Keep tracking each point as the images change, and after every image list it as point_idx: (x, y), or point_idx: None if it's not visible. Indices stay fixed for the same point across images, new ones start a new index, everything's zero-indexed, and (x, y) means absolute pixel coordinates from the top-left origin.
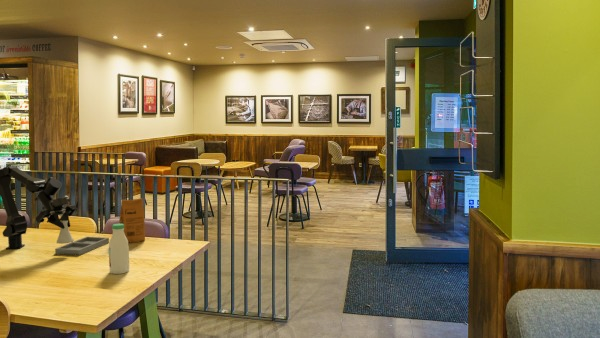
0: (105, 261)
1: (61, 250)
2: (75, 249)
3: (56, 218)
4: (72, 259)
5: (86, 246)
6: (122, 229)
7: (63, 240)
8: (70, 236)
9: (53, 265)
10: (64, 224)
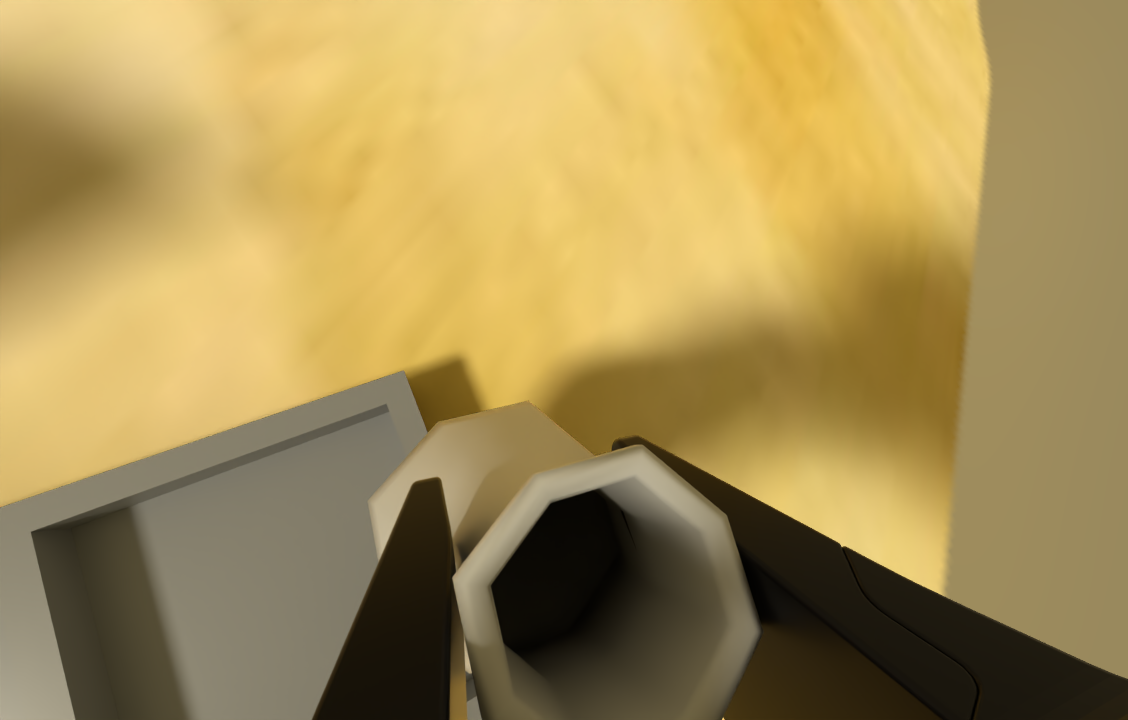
0: (403, 53)
1: None
2: (405, 436)
3: (1078, 674)
4: (526, 323)
5: (214, 457)
6: None
7: (578, 444)
8: (460, 438)
9: (701, 307)
10: (619, 488)
